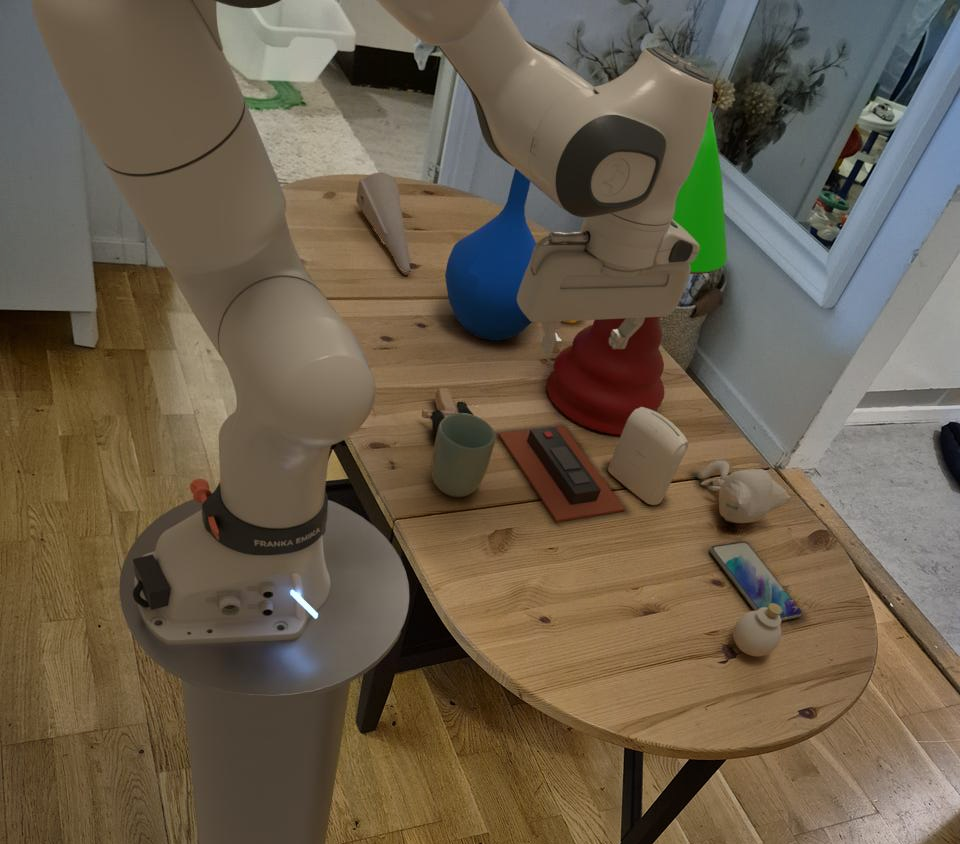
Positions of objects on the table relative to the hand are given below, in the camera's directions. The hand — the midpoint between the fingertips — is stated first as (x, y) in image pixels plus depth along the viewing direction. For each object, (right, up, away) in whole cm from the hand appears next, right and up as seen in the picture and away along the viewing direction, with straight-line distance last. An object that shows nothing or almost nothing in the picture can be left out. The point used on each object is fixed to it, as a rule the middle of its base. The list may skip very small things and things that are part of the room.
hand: (583, 348), depth 98 cm
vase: (-11, +22, +52) cm, 58 cm away
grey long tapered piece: (-29, +44, +65) cm, 83 cm away
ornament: (+24, -36, +13) cm, 45 cm away
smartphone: (+27, -27, +22) cm, 44 cm away
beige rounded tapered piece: (+26, -13, +33) cm, 44 cm away
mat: (0, -9, +29) cm, 30 cm away
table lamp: (+8, +6, +44) cm, 45 cm away
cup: (-16, -13, +21) cm, 30 cm away
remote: (0, -9, +28) cm, 29 cm away
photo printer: (+12, -11, +31) cm, 35 cm away
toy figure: (-17, -3, +29) cm, 34 cm away
